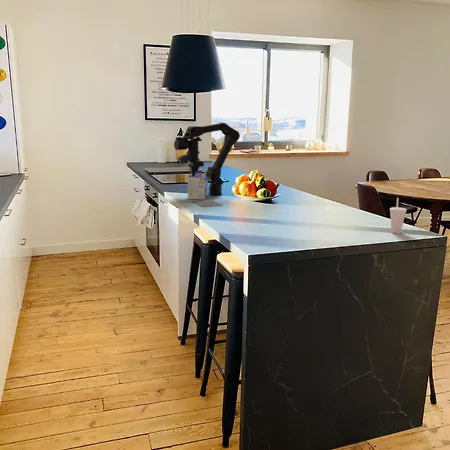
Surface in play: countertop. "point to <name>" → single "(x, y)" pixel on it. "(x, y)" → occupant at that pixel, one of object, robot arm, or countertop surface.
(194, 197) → the ink cartridge box
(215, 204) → the mat
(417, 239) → the countertop surface
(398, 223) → the smoothie
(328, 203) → the countertop surface
